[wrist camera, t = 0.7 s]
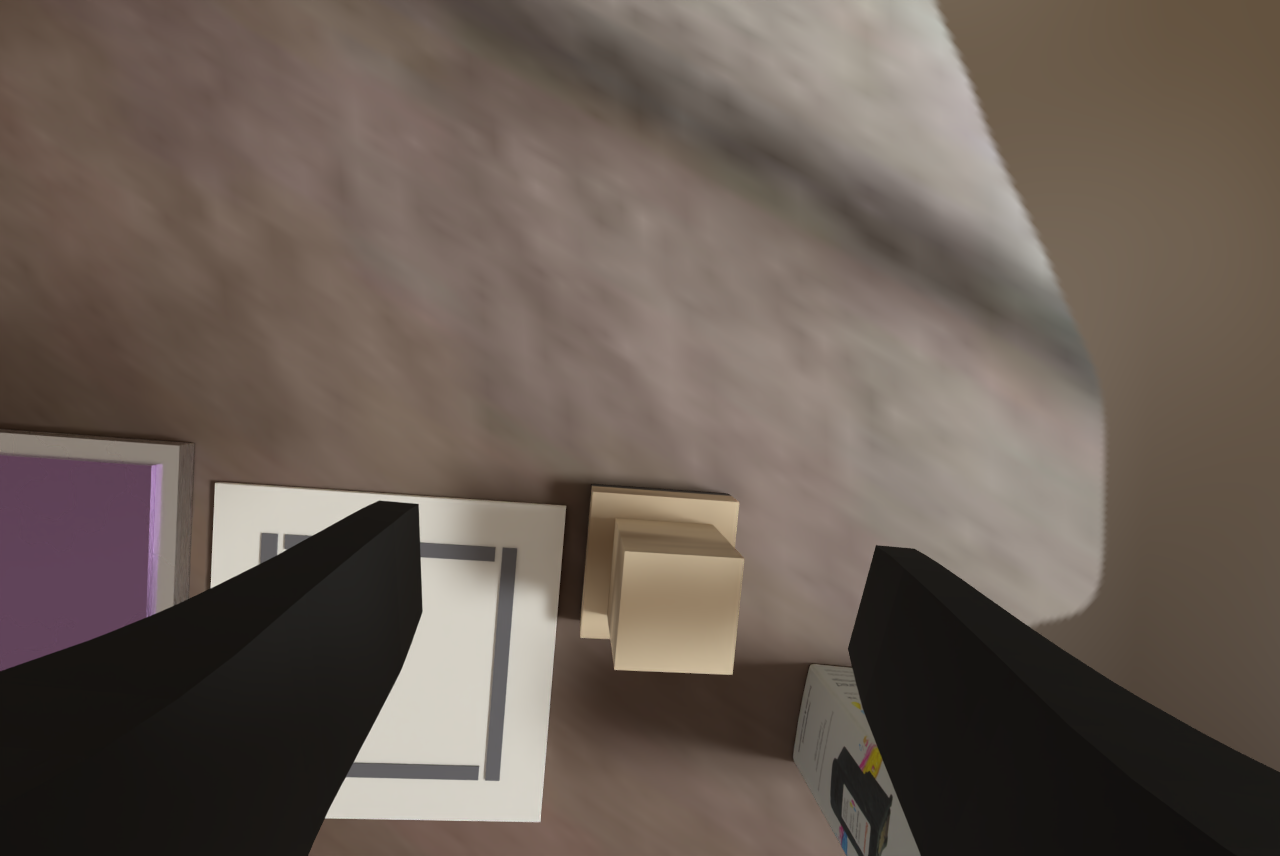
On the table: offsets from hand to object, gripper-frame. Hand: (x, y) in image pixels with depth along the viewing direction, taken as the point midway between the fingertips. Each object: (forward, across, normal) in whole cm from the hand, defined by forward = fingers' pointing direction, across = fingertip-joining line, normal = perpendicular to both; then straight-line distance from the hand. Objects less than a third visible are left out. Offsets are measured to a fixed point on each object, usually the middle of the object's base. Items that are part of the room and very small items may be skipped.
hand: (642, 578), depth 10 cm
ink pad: (+13, +22, +11) cm, 28 cm away
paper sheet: (+13, +10, +14) cm, 22 cm away
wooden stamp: (+16, -1, +10) cm, 19 cm away
